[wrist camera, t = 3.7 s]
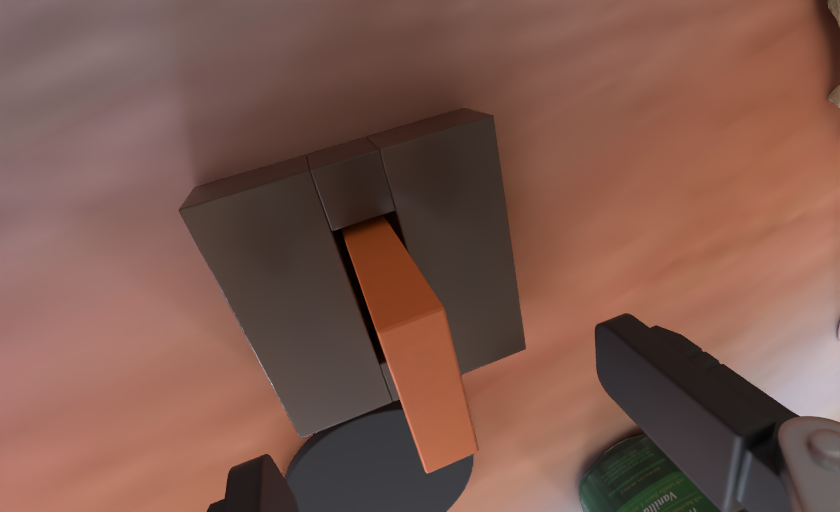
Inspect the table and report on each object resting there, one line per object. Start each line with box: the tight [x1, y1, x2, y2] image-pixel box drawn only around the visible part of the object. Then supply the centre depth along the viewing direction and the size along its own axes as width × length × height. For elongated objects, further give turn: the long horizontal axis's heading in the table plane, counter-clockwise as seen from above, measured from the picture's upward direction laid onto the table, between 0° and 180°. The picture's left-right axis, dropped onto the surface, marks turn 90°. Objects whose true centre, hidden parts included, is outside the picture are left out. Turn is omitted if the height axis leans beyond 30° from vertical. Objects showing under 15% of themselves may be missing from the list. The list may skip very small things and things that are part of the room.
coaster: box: [285, 401, 473, 512], centre depth 22 cm, size 10×10×1 cm
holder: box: [179, 108, 526, 438], centre depth 16 cm, size 10×10×2 cm
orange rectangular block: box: [341, 215, 479, 473], centre depth 14 cm, size 2×5×8 cm, turn 14°
